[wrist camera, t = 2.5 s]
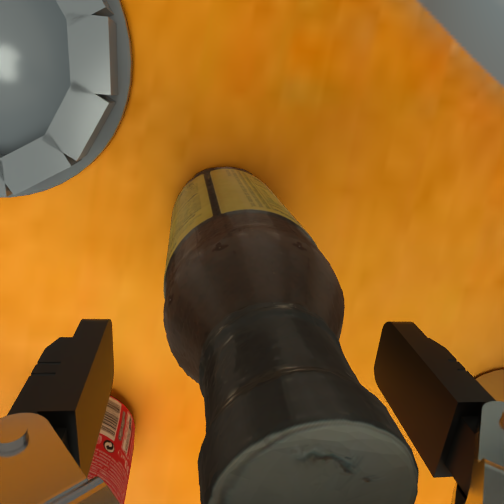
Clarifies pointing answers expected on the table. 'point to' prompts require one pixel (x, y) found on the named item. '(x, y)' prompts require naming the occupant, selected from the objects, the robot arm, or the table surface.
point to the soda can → (114, 449)
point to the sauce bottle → (272, 356)
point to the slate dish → (59, 88)
